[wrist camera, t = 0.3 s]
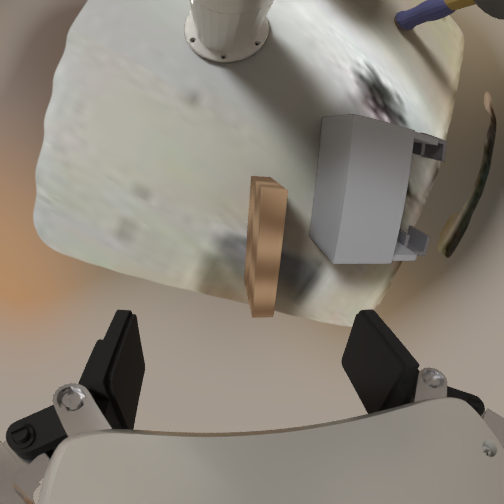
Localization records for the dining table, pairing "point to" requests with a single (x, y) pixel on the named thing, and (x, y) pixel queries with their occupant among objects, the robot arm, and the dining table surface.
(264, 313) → the tan wooden plank
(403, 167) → the cabinet
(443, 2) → the rubber mallet
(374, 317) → the robot arm
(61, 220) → the dining table surface
